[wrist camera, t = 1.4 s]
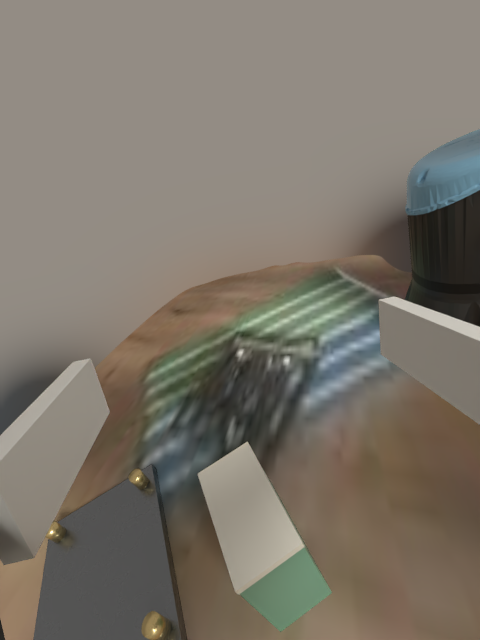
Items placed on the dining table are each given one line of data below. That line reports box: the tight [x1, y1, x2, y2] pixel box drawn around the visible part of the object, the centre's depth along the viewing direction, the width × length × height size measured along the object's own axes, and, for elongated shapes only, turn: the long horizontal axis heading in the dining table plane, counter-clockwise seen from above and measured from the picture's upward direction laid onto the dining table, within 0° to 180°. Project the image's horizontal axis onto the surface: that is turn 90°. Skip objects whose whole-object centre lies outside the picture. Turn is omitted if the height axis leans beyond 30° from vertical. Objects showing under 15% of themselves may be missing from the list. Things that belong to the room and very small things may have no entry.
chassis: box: [33, 464, 187, 640], centre depth 32 cm, size 14×19×3 cm
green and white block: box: [198, 442, 332, 632], centre depth 26 cm, size 5×9×10 cm, turn 24°
